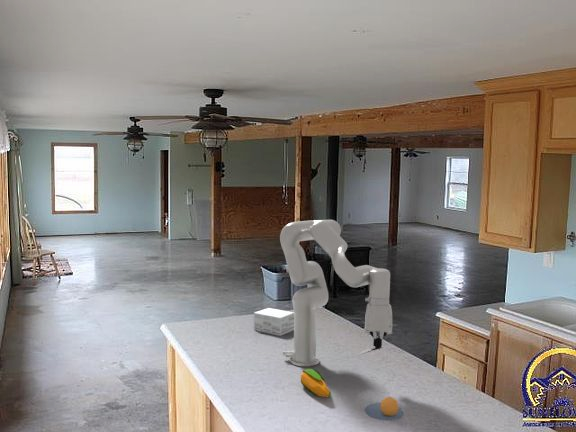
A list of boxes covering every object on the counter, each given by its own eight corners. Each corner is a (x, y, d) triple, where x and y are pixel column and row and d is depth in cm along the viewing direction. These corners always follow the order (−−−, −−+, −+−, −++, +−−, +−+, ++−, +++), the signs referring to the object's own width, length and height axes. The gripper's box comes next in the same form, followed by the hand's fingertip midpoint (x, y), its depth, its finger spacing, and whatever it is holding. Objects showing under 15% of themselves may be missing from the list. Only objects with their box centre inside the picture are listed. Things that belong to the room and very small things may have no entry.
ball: (379, 393, 185) (378, 408, 187) (383, 404, 180) (381, 420, 182) (396, 393, 186) (395, 408, 188) (401, 404, 180) (399, 419, 182)
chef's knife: (349, 355, 243) (354, 357, 241) (349, 353, 243) (354, 354, 241) (376, 346, 256) (382, 347, 254) (376, 344, 256) (382, 345, 254)
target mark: (366, 419, 181) (366, 418, 181) (363, 402, 193) (363, 401, 193) (406, 420, 180) (406, 420, 180) (400, 403, 193) (400, 403, 193)
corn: (313, 362, 211) (338, 381, 192) (314, 381, 212) (339, 402, 193) (295, 366, 208) (319, 385, 190) (296, 385, 209) (320, 406, 190)
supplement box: (295, 330, 278) (295, 312, 277) (280, 336, 267) (281, 317, 266) (268, 324, 288) (268, 306, 287) (253, 330, 277) (253, 312, 276)
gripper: (360, 303, 204) (358, 350, 206) (400, 304, 204) (398, 352, 205) (358, 298, 212) (357, 344, 213) (397, 299, 211) (395, 345, 213)
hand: (377, 348), depth 209 cm, fingers closed
